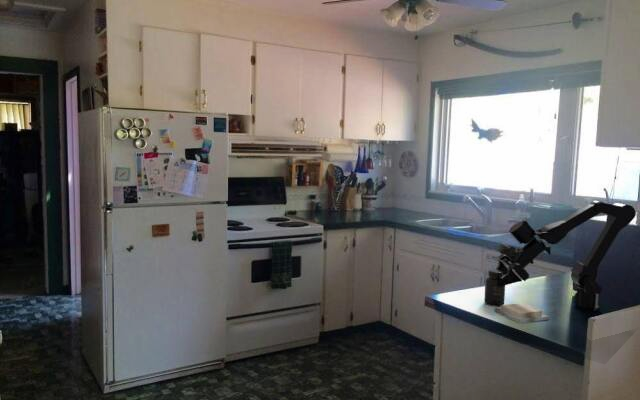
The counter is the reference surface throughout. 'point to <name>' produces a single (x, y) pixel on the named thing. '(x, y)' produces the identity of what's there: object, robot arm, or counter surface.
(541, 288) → the counter surface
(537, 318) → the build base
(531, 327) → the counter surface
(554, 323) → the counter surface
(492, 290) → the supplement bottle
